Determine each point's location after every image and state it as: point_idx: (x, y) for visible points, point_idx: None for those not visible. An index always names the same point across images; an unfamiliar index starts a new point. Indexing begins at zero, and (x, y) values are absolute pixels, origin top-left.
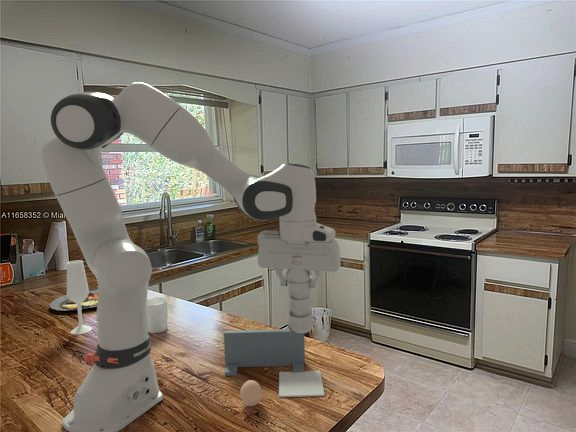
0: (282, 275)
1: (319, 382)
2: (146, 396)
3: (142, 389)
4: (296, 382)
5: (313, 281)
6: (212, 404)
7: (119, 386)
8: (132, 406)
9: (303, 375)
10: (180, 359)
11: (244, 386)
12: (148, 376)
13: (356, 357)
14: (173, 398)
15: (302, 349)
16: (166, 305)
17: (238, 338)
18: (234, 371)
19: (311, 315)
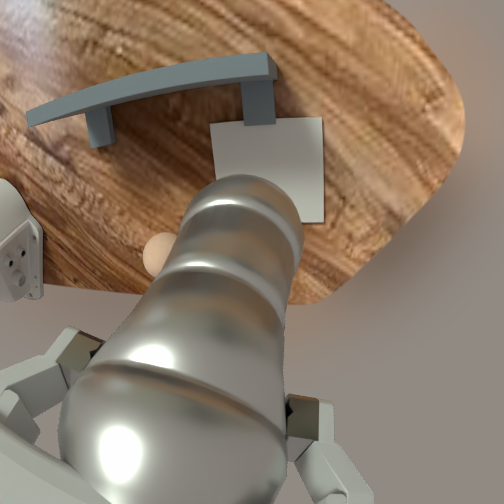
0: (44, 388)
1: (316, 173)
2: (26, 241)
3: (17, 256)
4: (258, 172)
5: (295, 464)
6: (110, 241)
7: (3, 293)
8: (27, 264)
9: (275, 139)
10: (12, 102)
11: (148, 272)
12: (7, 250)
13: (424, 51)
14: (53, 225)
15: (267, 78)
16: None
17: (67, 114)
18: (107, 142)
19: (293, 276)
